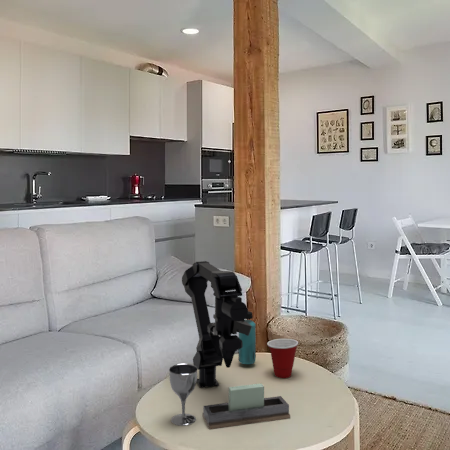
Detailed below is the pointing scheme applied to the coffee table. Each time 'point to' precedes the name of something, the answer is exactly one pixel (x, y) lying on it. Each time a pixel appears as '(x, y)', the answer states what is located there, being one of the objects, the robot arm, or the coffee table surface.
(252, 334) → the beverage bottle
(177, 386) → the wine glass
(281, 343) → the plastic cup
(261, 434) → the coffee table surface
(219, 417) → the grey long open box
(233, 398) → the pale green rectangular block
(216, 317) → the robot arm
